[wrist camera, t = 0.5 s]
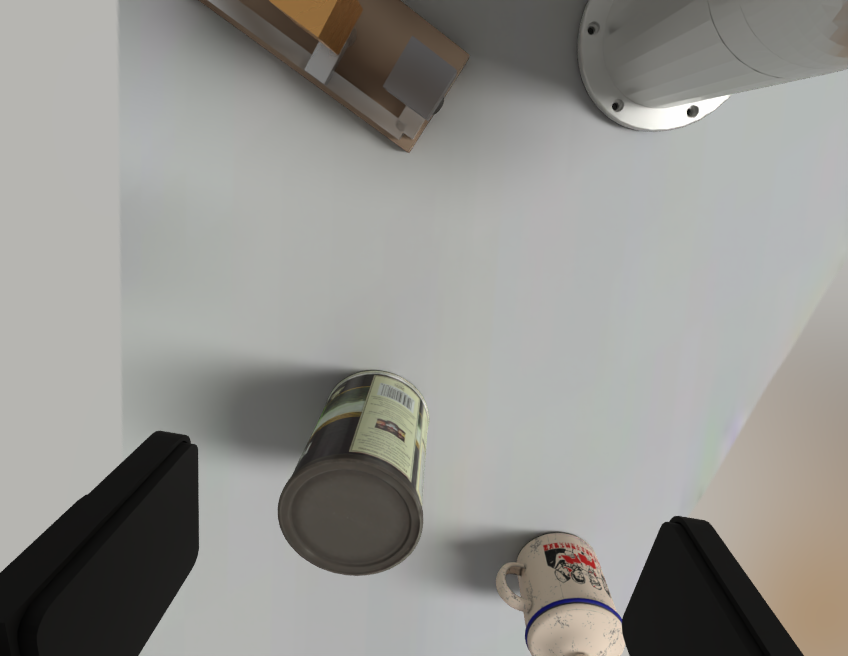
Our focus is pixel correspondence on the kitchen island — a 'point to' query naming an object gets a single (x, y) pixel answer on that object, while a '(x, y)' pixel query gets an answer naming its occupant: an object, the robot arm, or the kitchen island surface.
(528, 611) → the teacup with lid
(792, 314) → the kitchen island surface
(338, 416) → the coffee can
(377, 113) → the brown wooden stand
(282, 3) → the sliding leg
